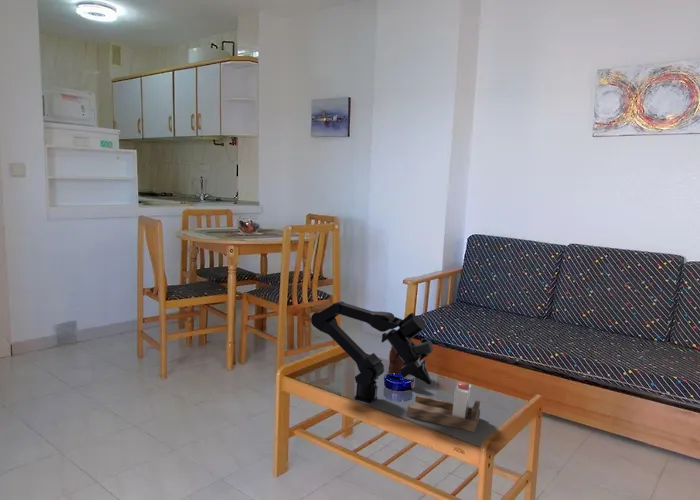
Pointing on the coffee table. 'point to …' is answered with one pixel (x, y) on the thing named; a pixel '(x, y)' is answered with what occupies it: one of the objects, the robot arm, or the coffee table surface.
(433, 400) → the wooden tray
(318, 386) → the coffee table surface
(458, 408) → the white carton
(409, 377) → the pill bottle
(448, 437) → the coffee table surface
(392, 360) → the wooden figurine
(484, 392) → the coffee table surface
